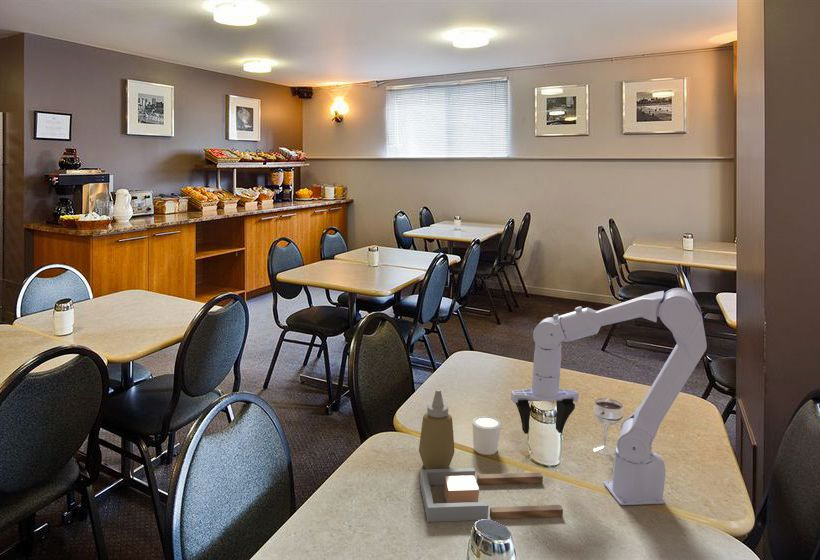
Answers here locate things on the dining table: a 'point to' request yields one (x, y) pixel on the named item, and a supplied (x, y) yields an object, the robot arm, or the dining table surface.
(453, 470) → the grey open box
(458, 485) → the block
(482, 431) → the white cup
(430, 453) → the squeeze bottle
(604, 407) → the wineglass
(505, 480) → the channel
